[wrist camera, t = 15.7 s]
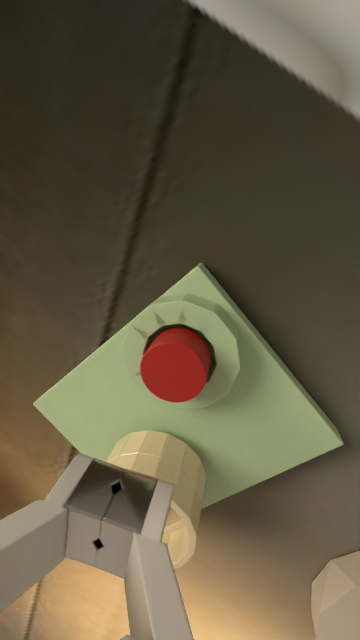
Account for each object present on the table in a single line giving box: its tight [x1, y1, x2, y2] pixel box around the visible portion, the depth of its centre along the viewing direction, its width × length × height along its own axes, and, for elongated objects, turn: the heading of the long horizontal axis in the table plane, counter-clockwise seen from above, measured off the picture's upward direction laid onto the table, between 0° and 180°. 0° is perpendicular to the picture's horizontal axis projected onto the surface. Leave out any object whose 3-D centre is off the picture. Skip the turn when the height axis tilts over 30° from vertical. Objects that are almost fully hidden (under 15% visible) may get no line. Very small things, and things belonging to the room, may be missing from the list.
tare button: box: [140, 328, 211, 403], centre depth 15 cm, size 3×3×2 cm
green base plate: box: [33, 263, 343, 508], centre depth 19 cm, size 15×13×3 cm
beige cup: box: [106, 430, 206, 569], centre depth 18 cm, size 6×6×4 cm
